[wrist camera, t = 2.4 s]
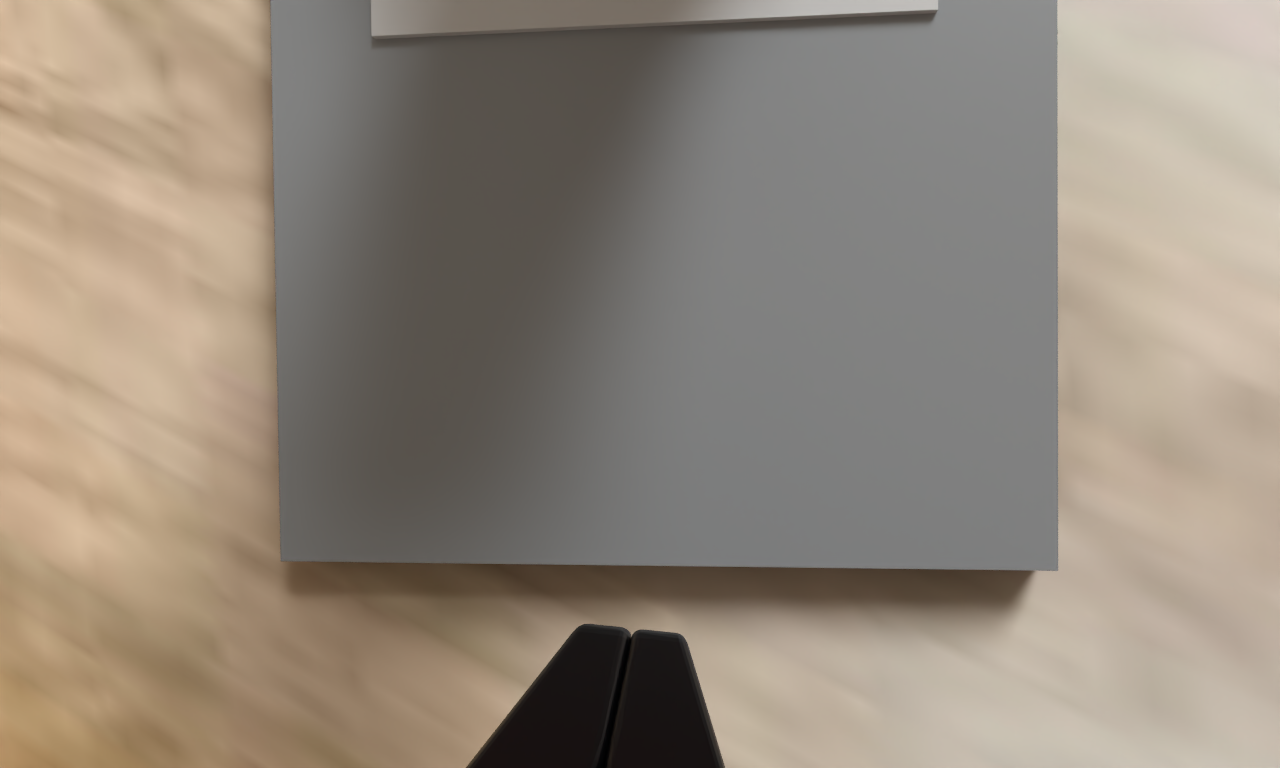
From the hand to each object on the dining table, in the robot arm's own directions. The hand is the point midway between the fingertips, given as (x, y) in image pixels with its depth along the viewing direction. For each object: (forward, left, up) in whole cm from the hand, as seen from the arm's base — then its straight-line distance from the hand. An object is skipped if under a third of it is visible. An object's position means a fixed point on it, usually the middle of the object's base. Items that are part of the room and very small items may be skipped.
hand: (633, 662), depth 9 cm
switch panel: (+7, +4, -12) cm, 14 cm away
